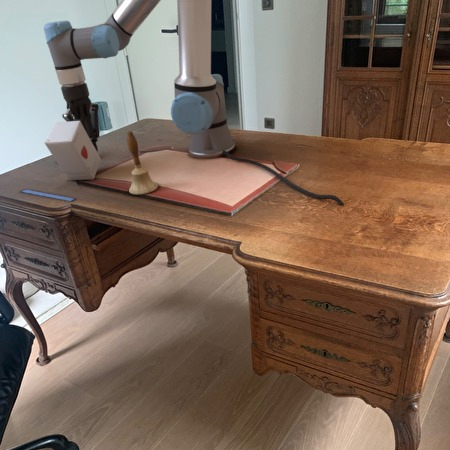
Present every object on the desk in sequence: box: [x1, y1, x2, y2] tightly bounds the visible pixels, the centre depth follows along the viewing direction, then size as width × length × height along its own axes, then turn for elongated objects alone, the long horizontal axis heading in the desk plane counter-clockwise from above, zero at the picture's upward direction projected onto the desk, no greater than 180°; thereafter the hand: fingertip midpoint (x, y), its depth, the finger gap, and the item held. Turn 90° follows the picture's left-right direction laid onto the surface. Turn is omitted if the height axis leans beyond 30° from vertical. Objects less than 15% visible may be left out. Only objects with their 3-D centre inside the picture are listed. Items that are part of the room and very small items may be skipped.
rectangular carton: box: [44, 121, 102, 181], centre depth 133 cm, size 9×9×15 cm
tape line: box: [21, 189, 75, 202], centre depth 129 cm, size 22×2×1 cm, turn 58°
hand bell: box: [126, 130, 159, 196], centre depth 121 cm, size 8×8×16 cm
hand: (95, 162), depth 142 cm, fingers closed
